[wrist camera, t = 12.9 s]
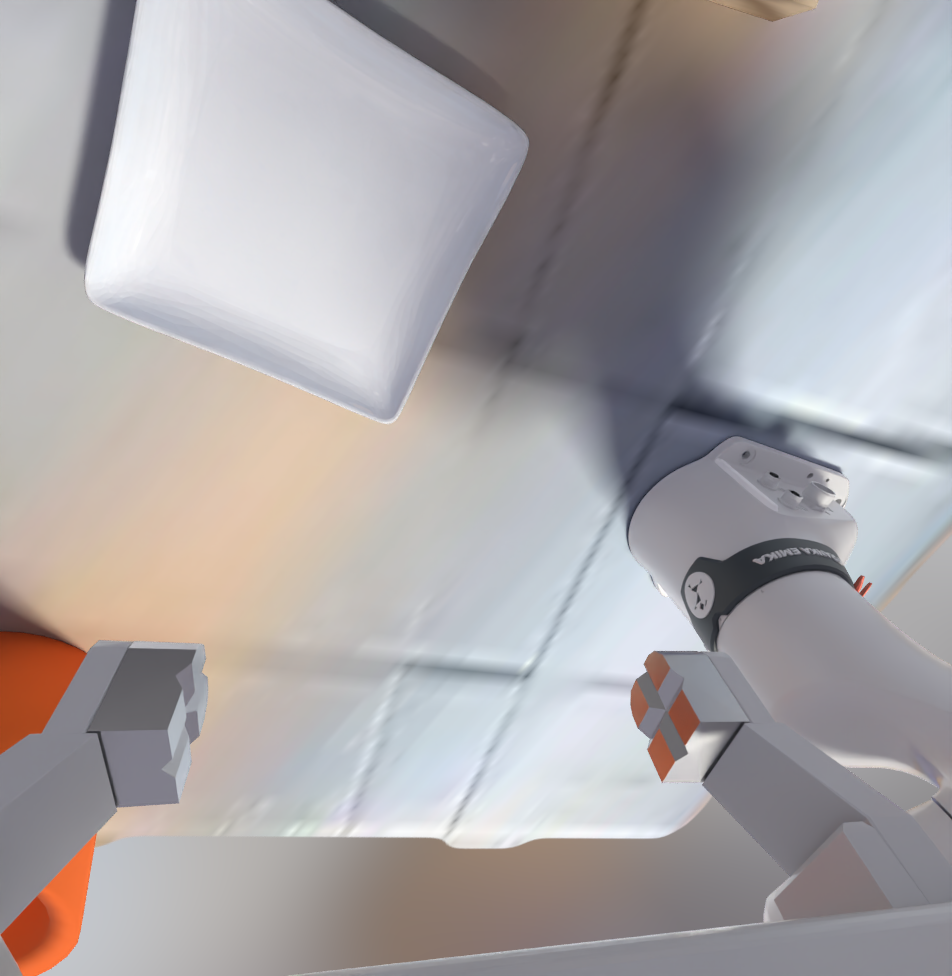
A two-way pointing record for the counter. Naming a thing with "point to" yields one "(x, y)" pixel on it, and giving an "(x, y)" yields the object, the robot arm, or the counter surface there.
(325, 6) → the salad plate
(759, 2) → the tan wooden shallow frame
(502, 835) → the counter surface
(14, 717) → the flowerpot
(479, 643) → the counter surface
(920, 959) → the robot arm
